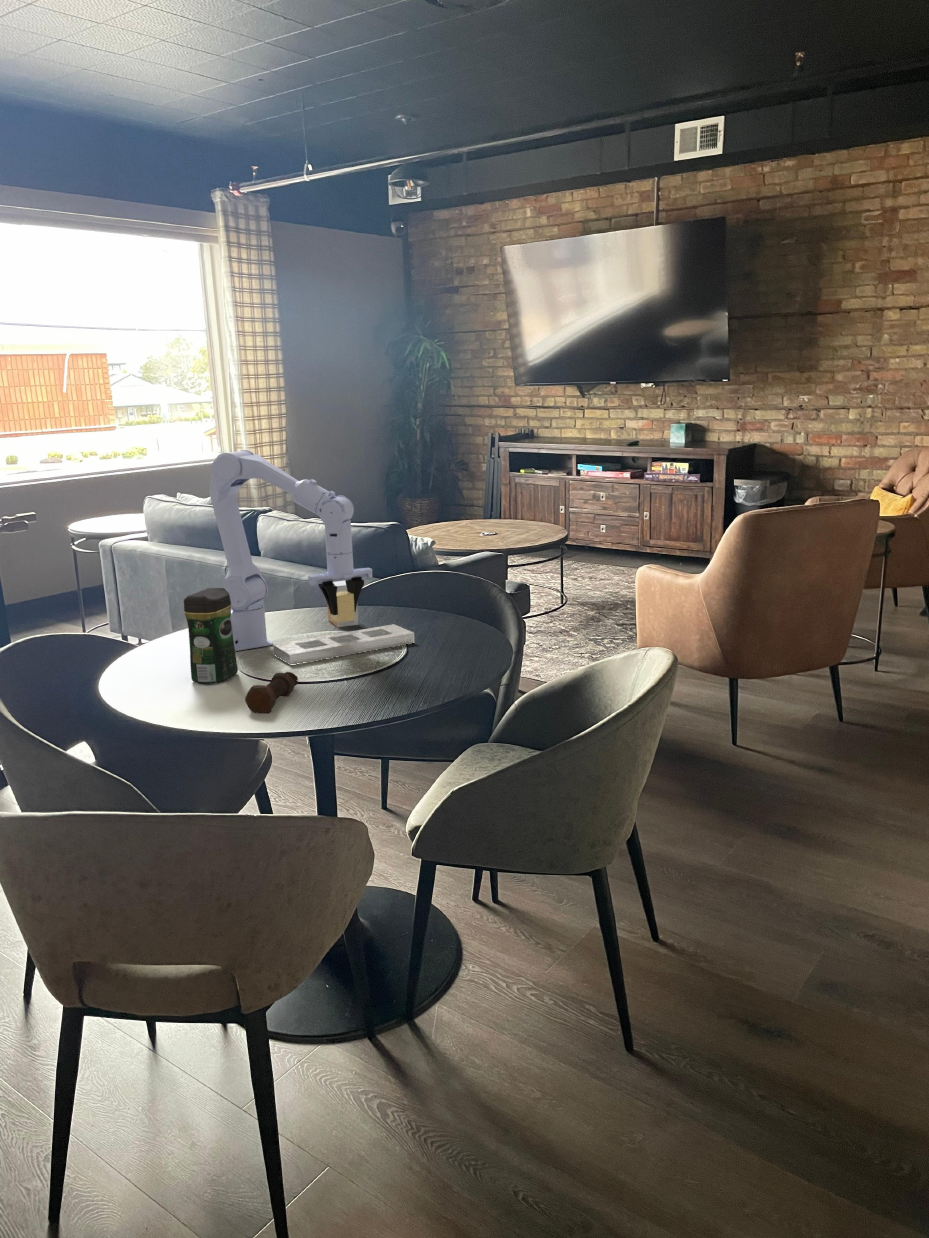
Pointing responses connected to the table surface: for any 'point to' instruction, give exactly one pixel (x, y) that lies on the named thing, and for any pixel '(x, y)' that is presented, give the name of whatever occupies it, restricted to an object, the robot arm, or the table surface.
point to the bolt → (270, 692)
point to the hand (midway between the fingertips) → (343, 612)
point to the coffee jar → (210, 636)
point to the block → (344, 607)
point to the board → (343, 644)
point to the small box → (342, 587)
